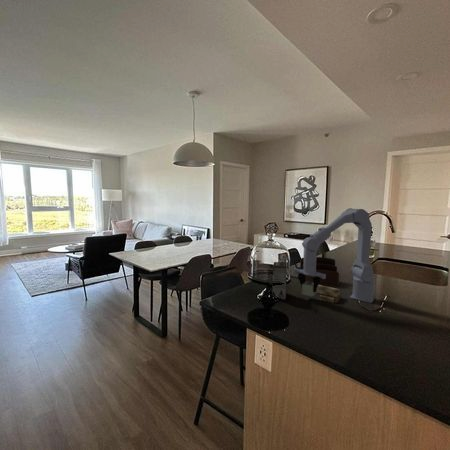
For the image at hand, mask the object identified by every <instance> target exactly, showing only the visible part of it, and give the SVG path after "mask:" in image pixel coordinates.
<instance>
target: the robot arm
mask: <svg viewBox="0 0 450 450" xmlns="http://www.w3.org/2000/svg"><path fill="white" fill-rule="evenodd" d="M346 224H353V225H355V227H357V228H358V231H357V242H356V243H357V244H356V247H357V248H356V259H355V260H354V261H353V263H352V266H351V268H350V274H351V275H352V294H351V295H350V296H349V298H350V299H353V300H358V301H362V302H366V303H370V304H372V303H374V300H375V299H376V298H375V297H376V282H373V280H374V279H375V274H374V271H373V268H374V267H373V265H372V263H371V262H370V253H371V243H372V242H371V241H372V240H371V239H372V229H373V228H372V226H373V225H372V222H371V219H370V213H369V212H368V211H367V210H365V209H363V208H351V207H350V208H347V209H346V210H344V211H342V213H341V214H340V215H339V216H338V217H336V218H335V219H334V220H333V221H332V222H330V223H329V224H327V226H325V227H324V226H322V227H318V228H317V231H315V232H314V233H313V234H310V235H309V237H306V238H304V239H303V241H302V242H301V245H302V247H303V258H304V267H303V270H302V269H300V268H295V269H294V272H293V274H297V279H298V280H299V283H300V286H301V288H302V284H303V283H305V279H306V275H307V276H313V277H315V278H313V284H314V287H313V292H316V291H317V287H318V284H319V282H320V280H321V279H325V278H326V274H323V273H319V272H316V257H318V256H317V250H318V249H319V248H320V245H321V244H323V243H324V242H326V241H327V240H328V239H329V238H330V237H331V236H332V233H333V232H334V231H336V230H337V229H339V228H340V227H342V226H343V225H346Z"/></svg>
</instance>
